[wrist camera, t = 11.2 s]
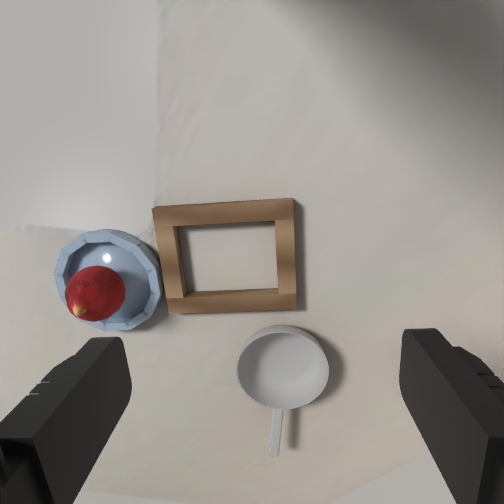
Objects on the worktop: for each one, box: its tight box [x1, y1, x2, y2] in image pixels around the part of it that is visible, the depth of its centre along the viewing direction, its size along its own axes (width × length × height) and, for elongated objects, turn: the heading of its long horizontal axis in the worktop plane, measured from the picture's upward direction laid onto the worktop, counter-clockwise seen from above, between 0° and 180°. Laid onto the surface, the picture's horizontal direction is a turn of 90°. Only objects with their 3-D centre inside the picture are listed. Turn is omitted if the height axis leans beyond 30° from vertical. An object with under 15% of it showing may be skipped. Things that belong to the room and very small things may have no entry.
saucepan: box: [236, 325, 329, 457], centre depth 42 cm, size 11×18×4 cm, turn 176°
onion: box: [65, 265, 126, 322], centre depth 36 cm, size 6×6×8 cm
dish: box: [54, 229, 164, 331], centre depth 39 cm, size 12×12×2 cm
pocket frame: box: [152, 198, 297, 314], centre depth 38 cm, size 12×15×2 cm
